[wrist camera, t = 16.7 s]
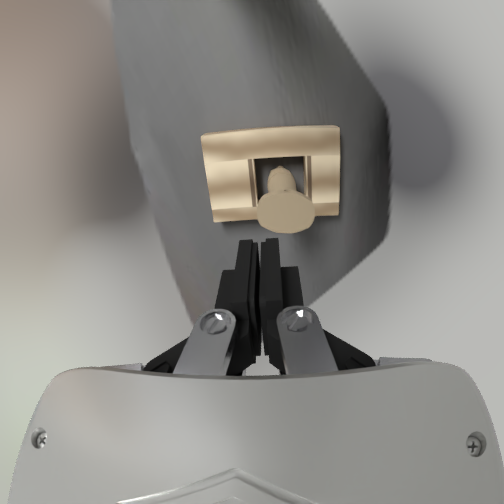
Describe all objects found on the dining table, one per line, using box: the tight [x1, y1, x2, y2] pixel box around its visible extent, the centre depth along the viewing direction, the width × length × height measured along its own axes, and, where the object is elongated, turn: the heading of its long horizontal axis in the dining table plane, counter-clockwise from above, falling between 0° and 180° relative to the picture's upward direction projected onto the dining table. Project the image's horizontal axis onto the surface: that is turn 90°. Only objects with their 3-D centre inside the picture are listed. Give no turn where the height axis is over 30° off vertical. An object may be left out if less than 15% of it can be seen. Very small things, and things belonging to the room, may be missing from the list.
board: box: [201, 125, 340, 222], centre depth 42 cm, size 14×20×3 cm
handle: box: [257, 166, 315, 233], centre depth 37 cm, size 5×6×15 cm
